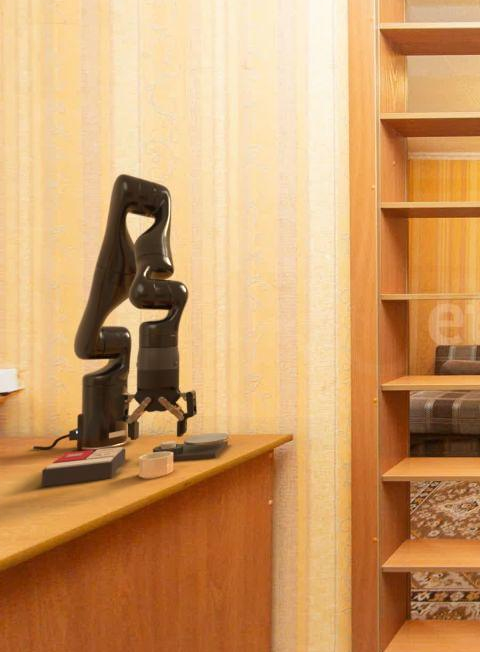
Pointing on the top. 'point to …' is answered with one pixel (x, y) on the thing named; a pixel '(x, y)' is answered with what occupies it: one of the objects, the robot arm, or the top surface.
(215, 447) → the grey knob plate
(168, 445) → the button
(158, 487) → the top surface
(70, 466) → the calculator
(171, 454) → the bowl
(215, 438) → the pan
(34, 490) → the top surface
